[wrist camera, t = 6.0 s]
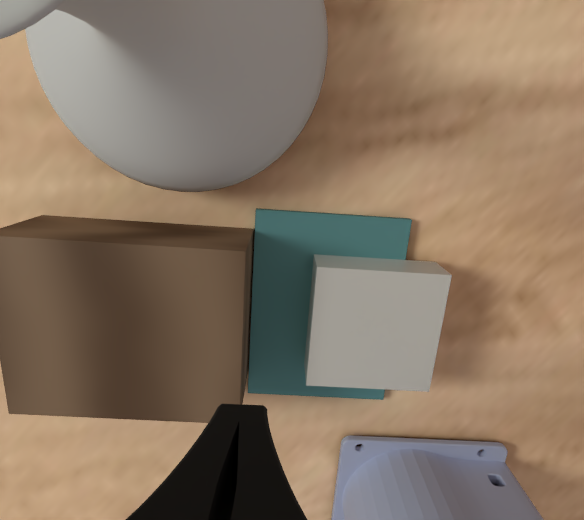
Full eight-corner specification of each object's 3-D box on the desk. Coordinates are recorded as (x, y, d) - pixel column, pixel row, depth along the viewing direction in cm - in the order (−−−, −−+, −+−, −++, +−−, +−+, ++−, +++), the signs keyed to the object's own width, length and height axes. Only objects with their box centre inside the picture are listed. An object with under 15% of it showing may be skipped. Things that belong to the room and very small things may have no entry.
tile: (316, 266, 18) (313, 254, 19) (306, 385, 19) (304, 363, 21) (451, 275, 18) (435, 261, 20) (429, 391, 19) (416, 368, 21)
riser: (253, 228, 19) (245, 251, 15) (247, 373, 22) (239, 424, 18) (41, 215, 19) (-20, 234, 15) (58, 363, 21) (9, 413, 17)
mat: (409, 218, 19) (411, 219, 19) (382, 396, 22) (383, 399, 22) (256, 208, 19) (255, 209, 19) (248, 389, 22) (247, 393, 22)
